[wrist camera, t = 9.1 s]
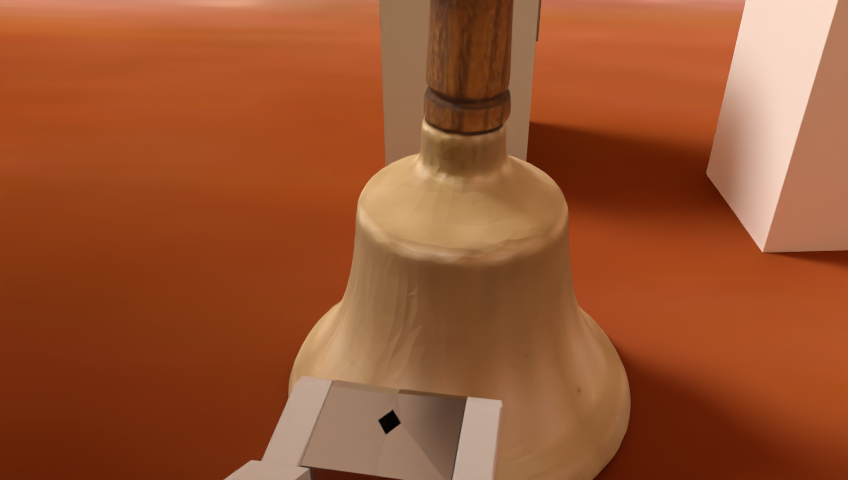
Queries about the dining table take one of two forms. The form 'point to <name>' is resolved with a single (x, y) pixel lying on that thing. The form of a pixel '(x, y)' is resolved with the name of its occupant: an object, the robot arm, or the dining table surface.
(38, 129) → the dining table surface
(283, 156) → the dining table surface
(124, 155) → the dining table surface
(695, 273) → the dining table surface
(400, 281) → the hand bell
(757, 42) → the cream block marked
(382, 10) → the sage block marked
